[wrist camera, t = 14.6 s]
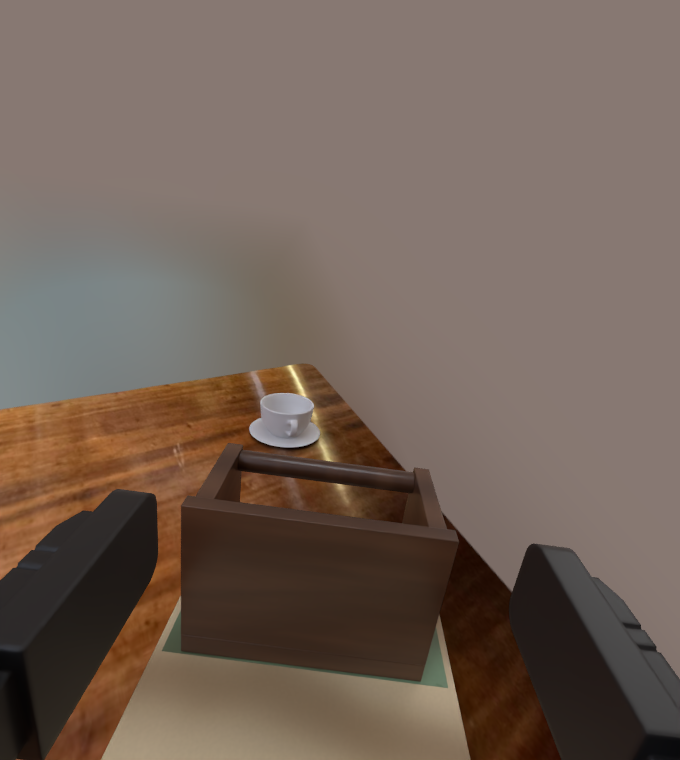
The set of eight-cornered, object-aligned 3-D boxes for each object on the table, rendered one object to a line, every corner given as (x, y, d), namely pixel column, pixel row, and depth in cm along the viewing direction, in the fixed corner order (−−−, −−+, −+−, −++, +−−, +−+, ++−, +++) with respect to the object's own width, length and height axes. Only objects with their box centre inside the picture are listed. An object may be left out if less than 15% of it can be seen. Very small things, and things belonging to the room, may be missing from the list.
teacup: (245, 418, 63) (246, 389, 61) (309, 417, 66) (312, 389, 65) (254, 452, 54) (257, 419, 53) (328, 448, 58) (332, 417, 56)
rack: (421, 682, 28) (459, 541, 24) (180, 651, 28) (180, 505, 24) (404, 568, 37) (430, 454, 34) (225, 545, 37) (230, 428, 33)
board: (571, 1274, 13) (580, 1267, 12) (-101, 1192, 12) (-107, 1183, 12) (426, 567, 39) (428, 560, 39) (210, 539, 39) (211, 532, 39)
